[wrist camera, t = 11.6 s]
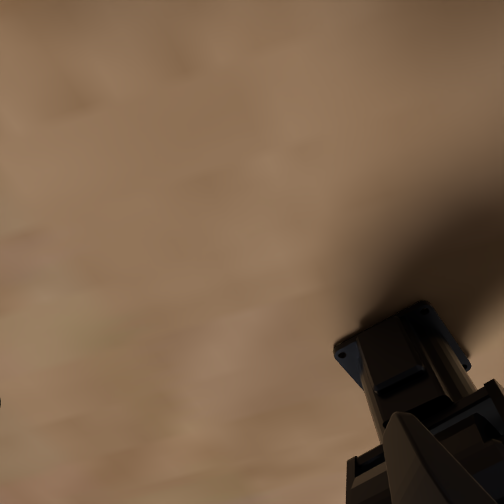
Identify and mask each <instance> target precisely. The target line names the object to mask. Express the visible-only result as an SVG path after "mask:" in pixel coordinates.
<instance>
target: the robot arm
mask: <svg viewBox="0 0 504 504" xmlns="http://www.w3.org/2000/svg"><path fill="white" fill-rule="evenodd" d="M424 308H426V309H425V310H423V311H421V310H422V309H424ZM341 352H344V353H342V354H339V353H341ZM333 354H334V357H335V359H336V360H337V361H338V362H339V364H340V365H341V366H342V367H343V368H344V369H345V370H346V371H347V373H348V374H349V375H350V376H351V377H352V378H353V379H354V380H355V382H356V383H357V384H358V385H359V386H360V387H361V388H362V389H363V391H364V393H365V396H366V399H367V402H368V405H369V409H370V412H371V415H372V418H373V421H374V425H375V428H376V431H377V434H378V438H379V441H380V445H378V446H377V447H375V448H373V449H371V450H369V451H368V452H366V453H364V454H362V455H360V456H359V457H357V456H355V457H353V458H351V459H349V460H348V461H347V479H346V504H504V388H503V387H502V386H501V385H500V384H499V383H498V382H497V381H496V380H495V379H492V380H490V381H489V382H487V383H485V384H484V387H482V388H480V389H479V390H477V389H476V387H475V385H474V384H473V382H472V381H471V379H470V377H469V376H468V374H467V371H469V370H470V368H471V363H470V362H469V360H468V359H467V357H466V356H465V354H464V353H463V351H462V350H461V348H460V347H459V345H458V344H457V342H456V341H455V339H454V338H453V336H452V335H451V333H450V332H449V330H448V329H447V327H446V326H445V325H444V323H443V322H442V320H441V319H440V317H439V316H438V314H437V313H436V311H435V310H434V308H433V307H432V305H431V304H430V303H429V302H428V301H420V302H417V303H415V304H414V305H412V306H410V307H408V308H406V309H404V310H402V311H401V312H399V313H397V314H395V315H393V316H391V317H390V318H388V319H386V320H384V321H382V322H380V323H378V324H377V325H375V326H373V327H371V328H369V329H367V330H365V331H364V332H362V333H360V334H358V335H356V336H354V337H352V338H351V339H349V340H347V341H345V342H343V343H341V344H340V345H338V346H336V347H335V348H334V350H333ZM0 406H1V399H0Z"/></svg>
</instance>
